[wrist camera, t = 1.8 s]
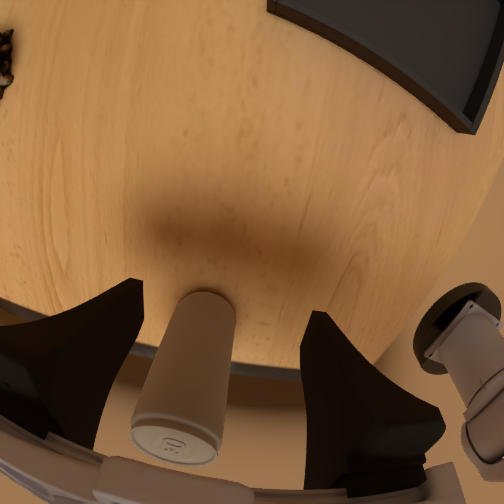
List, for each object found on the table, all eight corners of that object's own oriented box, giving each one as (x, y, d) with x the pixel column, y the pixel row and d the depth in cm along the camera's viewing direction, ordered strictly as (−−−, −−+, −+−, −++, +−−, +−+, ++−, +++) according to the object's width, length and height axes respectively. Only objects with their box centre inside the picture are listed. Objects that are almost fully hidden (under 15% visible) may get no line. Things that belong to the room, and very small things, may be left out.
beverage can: (170, 325, 24) (124, 449, 13) (184, 278, 22) (128, 411, 11) (225, 343, 24) (206, 474, 13) (246, 300, 22) (233, 443, 11)
